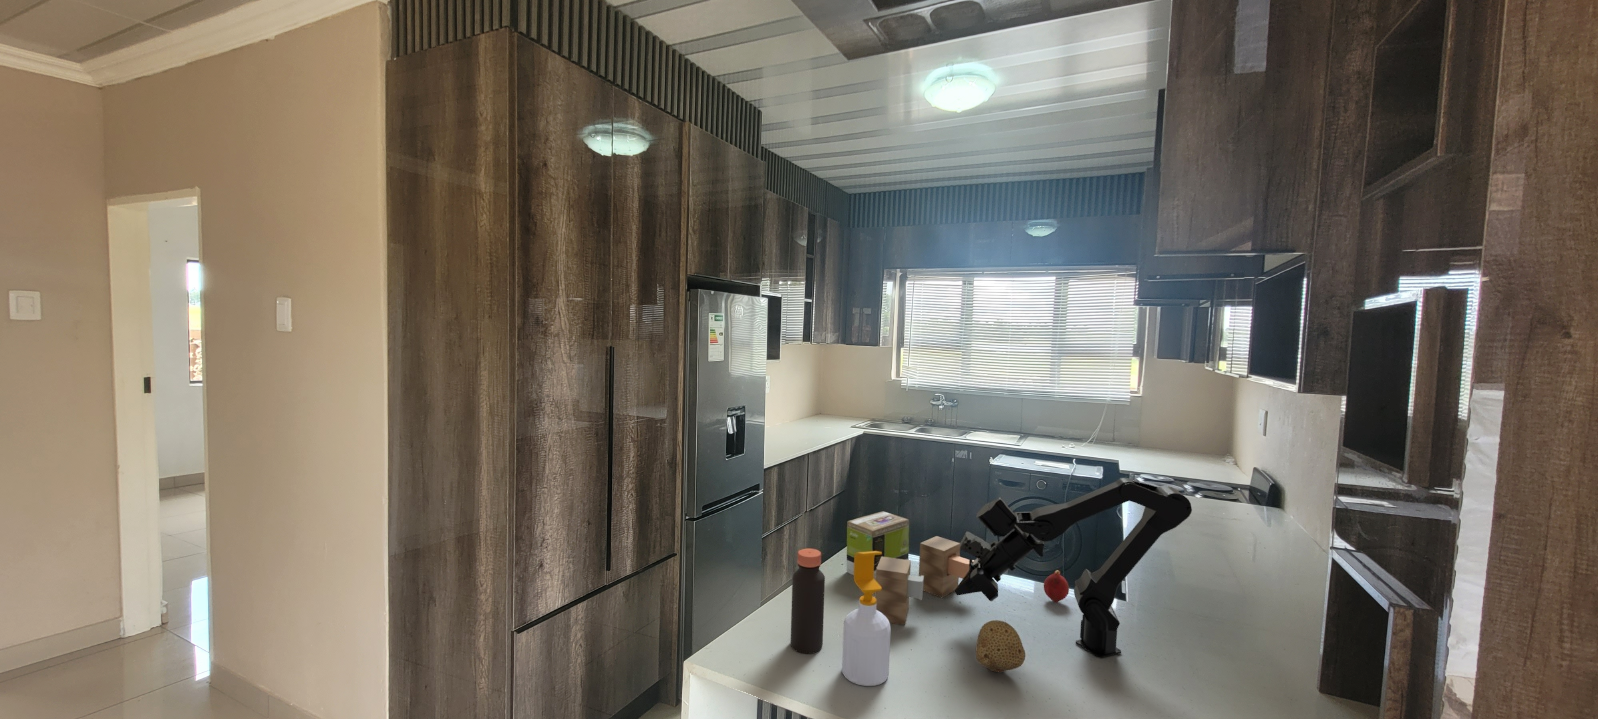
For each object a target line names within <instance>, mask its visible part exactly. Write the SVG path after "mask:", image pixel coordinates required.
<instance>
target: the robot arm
mask: <svg viewBox="0 0 1598 719" xmlns="http://www.w3.org/2000/svg"><path fill="white" fill-rule="evenodd" d="M1126 502H1132V503H1134V504H1137V505H1140V506H1143V507H1144V510H1143V513H1142V516H1141V518H1140V520H1139V521H1138V522H1137V523H1136V524H1135V526H1134V527H1133V528H1132V530H1130V532H1129V533H1128V534H1127V536H1126V537H1125V538H1124V539H1123V540H1122V542H1120V544H1119V545H1118V546H1117V548H1116V549H1115V550H1114V551H1113V552H1112V553H1111V555H1110V556H1109V557H1108V558H1107V559H1106V561H1105V562H1104V563H1103V564H1102V566H1101V567H1100V568H1098V569H1097V570H1095V571H1093V572H1091V571H1090V570H1088V569H1087V568H1085V569H1084V570H1083V572H1082V574H1081V576H1079V578H1078V579H1076V580H1074V584H1075V586H1074V588H1073V595H1074V598H1075V601H1076V603H1077V606H1078V608H1079V610H1080V612H1081V613H1082V618H1081V620H1080V630H1079V632H1080V634H1079V639H1077V640H1075V644H1076V645H1078V646H1079V647H1081V648H1082V649H1084V650H1086V651H1087V652H1089V653H1090V654H1092V655H1093V656H1095V657H1097V658H1099V659H1103V658H1105V657H1110V656H1114V655H1119V654H1122V650H1121V649H1120V648H1118V647H1117V641H1118V640H1117V639H1118V628H1119V626H1120V624H1121V623H1120V621H1119V618H1118V616H1117V615H1116V612H1115V611H1114V608H1113V607H1112V605H1113V603H1114V601H1115V598H1116V595H1117V592H1118V591H1117V590H1118V588H1119V586H1120V585H1121V583H1122V582H1123V581H1124V580H1126V577H1128V575H1129V574H1130V573H1131V572H1132V571H1133V569H1134V568H1135V567H1136V566H1137V564H1138V563H1139V562H1140V561H1141V560H1142V558H1143V557H1144V556H1146V555H1145V554H1146V553H1148V551H1149V550H1150V549H1151V548H1152V546H1154V544H1155V543H1156V542H1157V541H1158V539H1159V538H1160V537H1161V536H1162V535H1163V534H1165V533H1167V532H1170V531H1172V530H1173V529H1175V528H1177V527H1178V526H1180V525H1181V524H1182V523H1183V522H1185V521H1186V520H1187V519H1189V517H1190V516H1191V514H1192V511H1193V508H1192V504H1191V502H1190V500H1189V499H1188V498H1187V497H1186V496H1185V495H1184V494H1183V493H1181V492H1180V491H1179V490H1178V489H1176V488H1174V487H1173V486H1169V485H1168V486H1167V485H1161V486H1160V485H1159V486H1155V485H1152V484H1150V483H1145V482H1141V481H1136V480H1132V479H1131V478H1128V477H1120V478H1118V479H1117V480H1116V481H1114V482H1111V483H1109V484H1107V485H1105V486H1103V487H1100V488H1098V489H1096V490H1095V489H1094V490H1093V491H1091V492H1089V493H1086V494H1083V495H1082V496H1079V497H1077V498H1074V499H1072V500H1070V501H1068V502H1063V503H1057V504H1048V505H1045V506H1041V507H1036V508H1034V509H1033V510H1031V511H1017V512H1014V511H1013V510H1012V509H1011V508H1010V507H1009V506H1008V505H1007V503H1006V502H1005V500H1004V499H1002V497H1000V496H999V497H998V498H996V499H993V500H992V501H990V502H987V503H986V504H984V505H983V506H982V507H981V508H980V509H979V510H978V512H977V513H976V515H975V516H976V518H977V519H978V520H979V521H980V522H981V523H982V524H983V526H985V527H986V528H987V530H988V531H989V532H990V534H992V535H993V536H995V537H997V536H998V537H999V538H1001V537H1002V538H1001V539H1000V540H999V541H997V540H993V541H991V542H990V543H989V542H987V541H986V540H984V539H983V538H981V537H979V536H977V535H976V534H973V533H972V532H970V531H966V532H965V533H964V535H963V537H962V539H961V540H960V542H959V543H960V551H962V552H964V553H967V554H969V555H970V556H971V555H972V556H973V557H974V558H976V559H972V560H974V561H973V562H972V560H971V559H968V560H969V571H968V572H967V574H966V575H965V577H964V578H963V579H962V578H961V579H962V580H961V581H960V582H959V583H958V586H957V588H956V589H955V590H954V594H955V595H957V596H963V595H968V594H975V593H981V594H983V595H984V596H985V597H986V599H988V601H990V602H993V601H994V600H996V598H998V597H999V586H998V585H999V582H1000V581H1001V580H1002V579H1001V576H1002V575H1004V574H1005V573H1007V571H1009V570H1010V571H1011V572H1013V571H1014V570H1015V569H1016V565H1017V564H1018V563H1019V562H1021V561H1022V560H1023V559H1025V558H1026V557H1027V556H1028V555H1030V554H1031V553H1032V552H1033V551H1035V553H1037V555H1038V556H1039V557H1040V558H1043V557H1044V547H1045V543H1048V542H1051V541H1053V540H1055V539H1056V538H1058V537H1061V535H1063V534H1064V533H1066V532H1067V531H1068V530H1069V529H1070V528H1071V527H1072V526H1073V525H1075V524H1077V523H1079V522H1081V521H1084V520H1086V519H1088V518H1091V517H1092V516H1095V515H1098V514H1100V513H1103V512H1105V511H1107V510H1110V509H1112V508H1115V507H1117V506H1120V505H1121V504H1125V503H1126Z"/></svg>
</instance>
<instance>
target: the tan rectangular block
mask: <svg viewBox="0 0 1598 719" xmlns="http://www.w3.org/2000/svg"><path fill="white" fill-rule="evenodd" d="M969 560H970V559H968V558H965V557H962V556H960V557H959V556H956V555H953V554H952V555H950V556H948V565H947V573H948V574H951V575H954V576H956V577H959V578H960V579H963V578H964V577H965V575H966V574H967V572H968V571H969ZM974 560H975V559H972V562H973V561H974Z"/></svg>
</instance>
